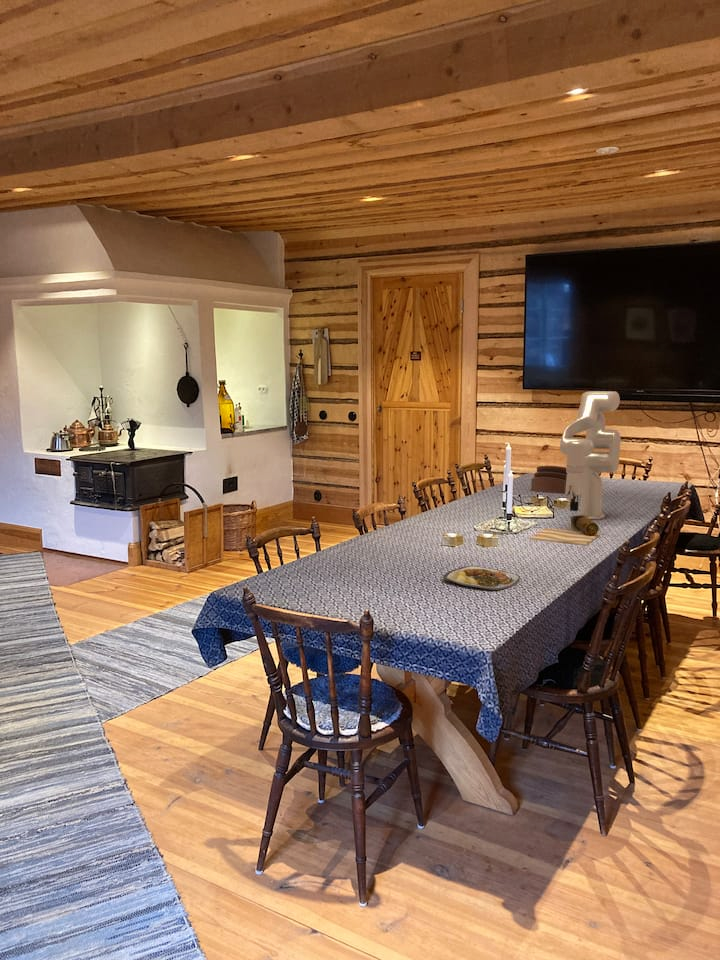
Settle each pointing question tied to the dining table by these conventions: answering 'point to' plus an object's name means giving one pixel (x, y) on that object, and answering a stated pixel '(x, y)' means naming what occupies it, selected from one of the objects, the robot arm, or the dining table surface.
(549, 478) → the letter holder
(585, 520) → the condiment
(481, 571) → the meal
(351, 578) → the dining table surface
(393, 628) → the dining table surface
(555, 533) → the oak board
